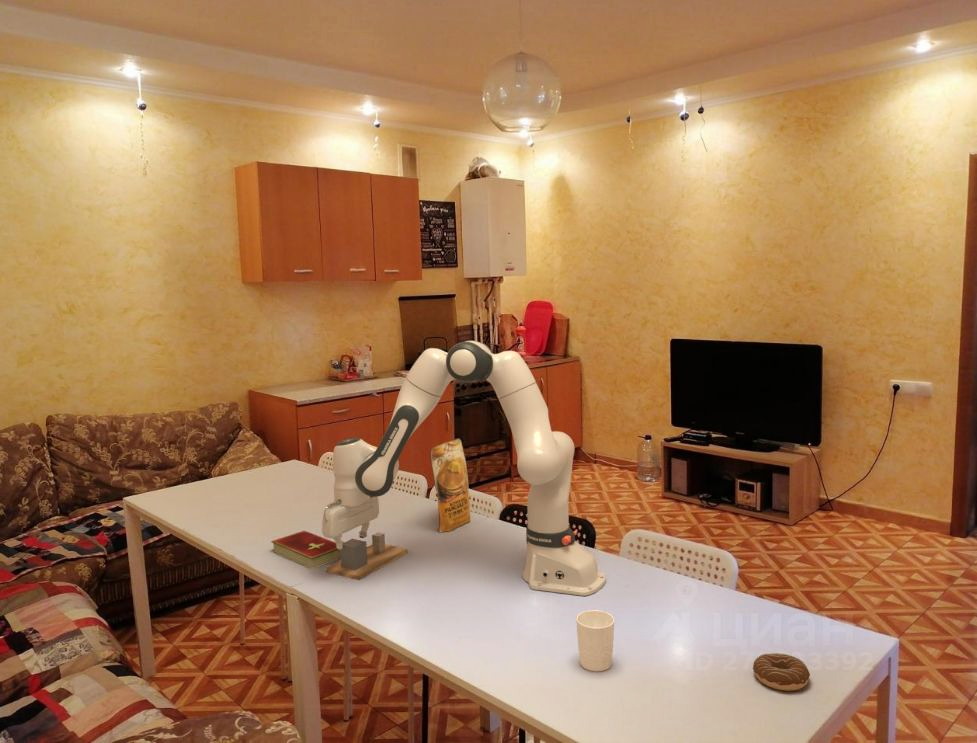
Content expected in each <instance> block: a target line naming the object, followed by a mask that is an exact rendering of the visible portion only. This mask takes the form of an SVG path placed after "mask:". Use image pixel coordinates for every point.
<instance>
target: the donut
mask: <svg viewBox="0 0 977 743" xmlns="http://www.w3.org/2000/svg"><path fill="white" fill-rule="evenodd" d="M752 670H753V673H754V675H755V677H756V678H757V679H758V681H759V682H761V683H762V684H763V685H766V686H767V687H769V688H772V689H775V690H778V691H779V690H780V691H784V692H785V691H787V692H790V691H797V690H801V689H803V688H804V687H805V686H806V685H807V684H808V682H809V680H810V676H811V674H810V672H809V668H808V667H807V665H806V664H805V662H804V661H802V660H801V659H800V658H797V657H795V656H792V655H790V654H786V653H778V652H773V653H772V652H771V653H764V654H761V655H759V656H758V657H757V658H756V659H755V660H754V661H753V665H752Z"/></svg>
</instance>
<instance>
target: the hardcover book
mask: <svg viewBox="0 0 977 743" xmlns="http://www.w3.org/2000/svg"><path fill="white" fill-rule="evenodd" d="M271 544H273V552H274V553H276V554H277V555H279V556H283V558H287V559H289V560H290V561H294V562H295V563H298V564H300V565H302V566H305V567H306V568H309V569H311V570H313V569H315V568H316V569H317V568H319V567H321V566H324V565H327V564H329V563H332V562H334V561H337V560H341V554H340V549H337V547H336V542H335V541H332V540H330V539H328V538H326V537H325V538H324V537H322V536H320V535H317V534H314V533H312V532H309V531H307V530H301V531H299V532H295V533H291V534H288V535H286V536H283V537H279V538H277V539H273V540H271Z"/></svg>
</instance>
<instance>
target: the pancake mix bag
mask: <svg viewBox="0 0 977 743" xmlns="http://www.w3.org/2000/svg"><path fill="white" fill-rule="evenodd" d="M429 458H430V463H431V468H432V478H433V484H434V487H435V490H436V495H437V508H438V510H437V511H438V530H437V531H438V533H439V534H440V533H447V532H448V533H449V532H451V531H454V530H456V529H458V528H460V527H462V526H464V525H467V524H469V523H470V522H471V512H470V510H471V509H470V507H471V506H470V505H471V504H470V494H469V491H470V490H469V475H468V466H467V460H466V456H465V452H464V446H463V442H462V440H461V438H460V437H459V438H455V439H453V440H450V441H446V442H443V443H441V444H439V445H436V446H434V447H432V448H431V450H430V457H429Z"/></svg>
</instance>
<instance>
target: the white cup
mask: <svg viewBox="0 0 977 743" xmlns="http://www.w3.org/2000/svg"><path fill="white" fill-rule="evenodd" d="M576 632H577V634H576V635H577V646H578V647H577V648H578V655H579V656H578V657H579V658H578V659H579V660H578V661H579V664H580V665H581V666H580V667H582V668H583V669H585V670H588V671H590V672H603V671H607V670H608V669H609V668H611V667H612V663H613V662H612V660H613V653H614V652H613V650H614V636H615V635H614V632H615V618H614V616H613V615H612V614H610V613H608V612H606V611H603V610H595V609H592V610H586V611H582V612H579V613H578V615H576Z"/></svg>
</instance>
